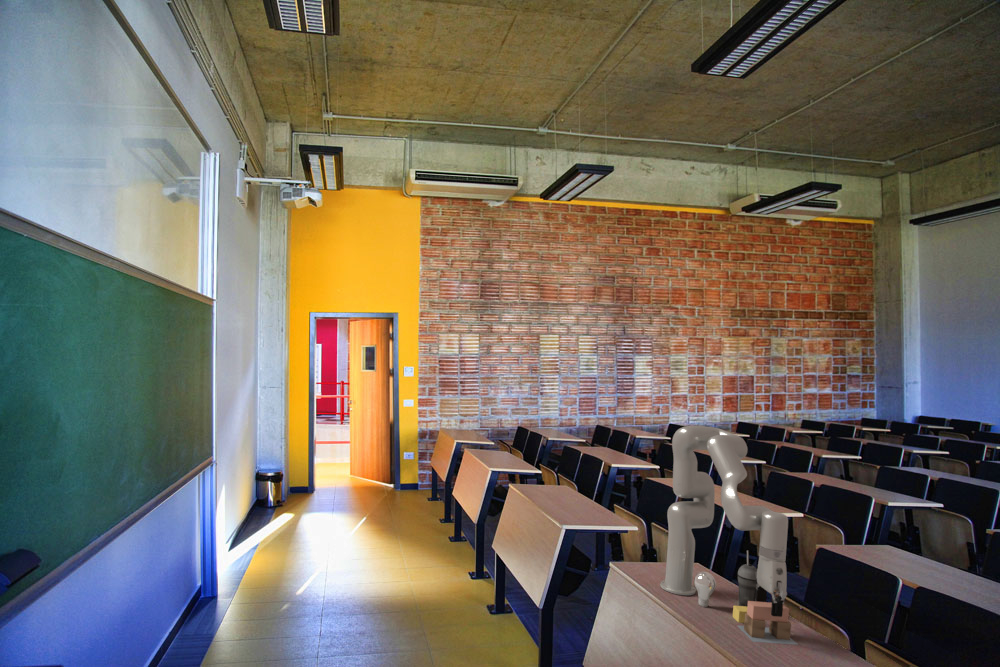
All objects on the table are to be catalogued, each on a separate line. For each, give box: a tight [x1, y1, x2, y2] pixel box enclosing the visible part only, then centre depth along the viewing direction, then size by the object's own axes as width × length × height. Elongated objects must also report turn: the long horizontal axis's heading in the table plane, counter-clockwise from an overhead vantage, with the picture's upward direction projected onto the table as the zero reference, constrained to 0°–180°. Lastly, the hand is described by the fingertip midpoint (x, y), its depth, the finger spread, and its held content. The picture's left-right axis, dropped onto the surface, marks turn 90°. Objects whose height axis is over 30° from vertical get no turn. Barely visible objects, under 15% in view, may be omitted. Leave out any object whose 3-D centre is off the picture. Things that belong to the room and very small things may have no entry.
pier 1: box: [743, 613, 766, 638], centre depth 186 cm, size 5×4×5 cm
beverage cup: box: [736, 550, 758, 607], centre depth 207 cm, size 7×7×20 cm
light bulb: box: [693, 571, 717, 608], centre depth 206 cm, size 7×7×12 cm
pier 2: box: [768, 620, 792, 640], centre depth 187 cm, size 5×4×5 cm
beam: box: [747, 600, 790, 622], centre depth 187 cm, size 11×4×4 cm, turn 92°
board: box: [736, 624, 799, 646], centre depth 186 cm, size 11×14×1 cm
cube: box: [732, 605, 747, 624], centre depth 196 cm, size 4×4×4 cm
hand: (768, 609), depth 187 cm, fingers open, 9 cm apart
